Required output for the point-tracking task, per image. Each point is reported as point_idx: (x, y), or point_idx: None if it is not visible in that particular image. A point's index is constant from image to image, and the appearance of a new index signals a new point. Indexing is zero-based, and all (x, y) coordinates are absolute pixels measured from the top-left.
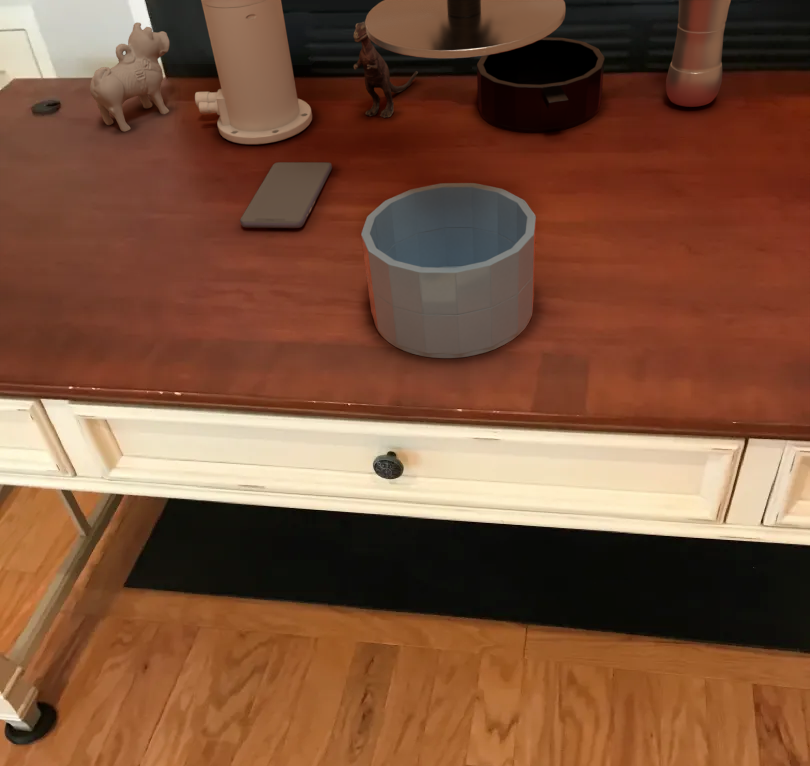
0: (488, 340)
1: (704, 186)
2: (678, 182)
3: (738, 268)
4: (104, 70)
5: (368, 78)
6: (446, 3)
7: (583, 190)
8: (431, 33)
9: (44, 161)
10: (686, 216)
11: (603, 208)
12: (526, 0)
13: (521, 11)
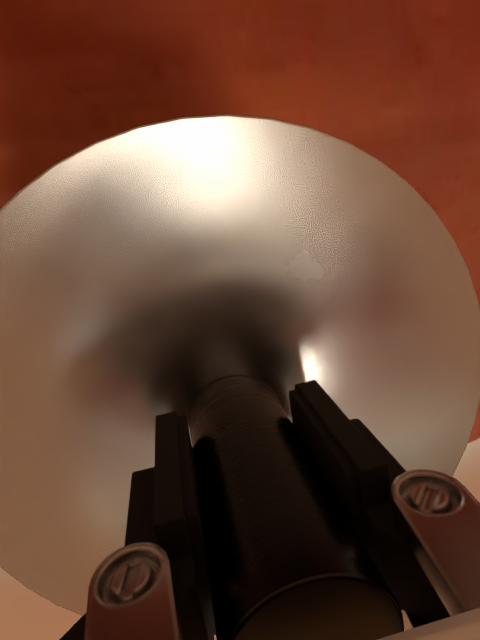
0: None
1: (451, 29)
2: (419, 18)
3: (470, 233)
4: None
5: None
6: (163, 364)
7: (294, 56)
8: None
9: None
10: (425, 120)
11: (326, 110)
12: (388, 323)
13: (384, 399)
